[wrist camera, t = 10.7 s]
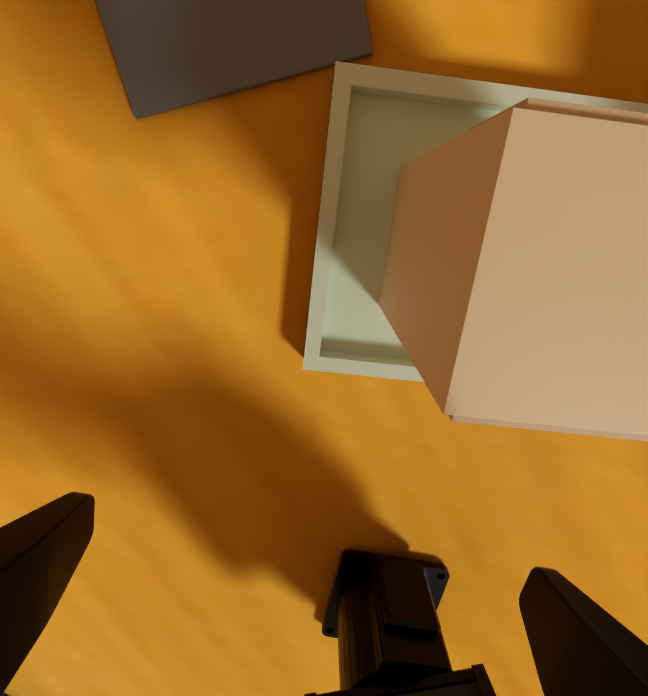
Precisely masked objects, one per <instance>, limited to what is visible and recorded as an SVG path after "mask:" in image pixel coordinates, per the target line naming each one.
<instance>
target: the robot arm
mask: <svg viewBox="0 0 648 696" xmlns="http://www.w3.org/2000/svg"><path fill="white" fill-rule="evenodd" d="M94 507H95V500H94V497H93V496H92V495H90V494H85V493H78V492H70V493H68V494H66V495H64V496H62V497H60V498H58V499H56V500H54V501H52V502H50V503H48V504H46V505H44V506H42V507H40V508H38V509H36V510H34V511H32V512H30V513H28V514H26V515H24V516H22V517H20V518H18V519H16V520H14V521H12V522H10V523H8V524H6V525H4V526H2V527H1V528H0V696H2V694H3V693H4V691H5V689H6V688H7V686H8V685H9V683H10V682H11V680H12V678H13V677H14V675H15V674H16V672H17V671H18V669H19V668H20V666H21V664H22V663H23V661H24V660H25V658H26V657H27V655H28V653H29V652H30V650H31V649H32V647H33V646H34V644H35V643H36V641H37V639H38V638H39V636H40V635H41V633H42V631H43V630H44V628H45V626H46V625H47V623H48V621H49V620H50V618H51V616H52V614H53V612H54V610H55V608H56V606H57V605H58V603H59V601H60V599H61V597H62V595H63V593H64V591H65V589H66V587H67V585H68V583H69V581H70V579H71V577H72V575H73V573H74V571H75V569H76V568H77V566H78V564H79V562H80V560H81V558H82V556H83V554H84V552H85V550H86V548H87V546H88V544H89V542H90V540H91V537H92V534H93V529H94ZM349 558H351V560H347V559H349ZM439 573H441V574H439ZM448 579H449V572H448V569H447V567H446V566H445V565H442V564H437V563H431V562H424V561H418V560H412V559H406V558H399V557H393V556H387V555H380V554H374V553H368V552H362V551H355V550H345V551H344V552H342V554H341V556H340V560H339V563H338V567H337V571H336V574H335V578H334V582H333V585H332V589H331V592H330V596H329V600H328V603H327V607H326V611H325V614H324V618H323V622H322V633H323V634H324V635H325V636H328V637H334V638H338V649H339V674H340V691H334V692H328V693H322V694H316V692H315V693H309V694H305V695H304V696H496V694H495V692H494V689H493V687H492V685H491V682H490V680H489V677H488V675H487V673H486V670H485V668H484V665H483V664H477V665H472V666H471V667H472V668H468V669H462V670H456V671H452V667H451V664H450V660H449V656H448V653H447V649H446V646H445V642H444V639H443V635H442V632H441V626H440V623H439V619H438V616H437V612H436V610H437V608H438V605H439V603H440V600H441V597H442V595H443V592H444V590H445V587H446V584H447V582H448ZM519 606H520V611H521V615H522V618H523V622H524V626H525V629H526V633H527V636H528V640H529V644H530V647H531V651H532V655H533V658H534V662H535V665H536V669H537V673H538V676H539V680H540V683H541V686H542V690H543V693H544V696H648V645H647V644H645V643H644V642H643V641H642V640H640V639H639V638H638V637H637V636H636V635H634V634H633V633H632V632H631V631H629V630H628V629H627V628H626V627H625V626H623V625H622V624H621V623H620V622H619V621H617V620H616V619H615V618H614V617H612V616H611V615H610V614H609V613H608V612H606V611H605V610H604V609H603V608H601V607H600V606H599V605H598V604H597V603H595V602H594V601H593V600H592V599H590V598H589V597H588V596H587V595H586V594H584V593H583V592H582V591H581V590H580V589H578V588H577V587H576V586H575V585H573V584H572V583H571V582H570V581H569V580H567V579H566V578H565V577H564V576H562V575H561V574H560V573H559V572H557V571H556V570H554V569H550V568H544V567H534V568H533V569H532V570H531V572H530V574H529V576H528V578H527V580H526V583H525V585H524V587H523V589H522V591H521V594H520V597H519Z"/></svg>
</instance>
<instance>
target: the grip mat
mask: <svg viewBox="0 0 648 696" xmlns="http://www.w3.org/2000/svg"><path fill="white" fill-rule="evenodd" d="M95 1H96V4H97V7H98V10H99V13H100V16H101V19H102V22H103V25H104V28H105V31H106V34H107V37H108V40H109V43H110V45H111V48H112V51H113V54H114V57H115V60H116V63H117V66H118V69H119V72H120V75H121V78H122V81H123V84H124V87H125V90H126V93H127V96H128V99H129V101H130V104H131V107H132V110H133V113H134V116H135V118H137V119H139V118H143V117H147V116H150V115H154V114H158V113H161V112H165V111H169V110H172V109H176V108H179V107H183V106H187V105H190V104H194V103H198V102H201V101H205V100H209V99H212V98H216V97H220V96H223V95H227V94H231V93H234V92H238V91H241V90H245V89H249V88H252V87H256V86H260V85H263V84H267V83H271V82H274V81H278V80H282V79H285V78H289V77H293V76H296V75H300V74H303V73H307V72H311V71H314V70H318V69H322V68H325V67H329V66H333V65H335V62H336V61H339V62H347V61H351V60H355V59H358V58H362V57H366V56H369V55H372V54H373V48H372V42H371V36H370V30H369V24H368V19H367V13H366V7H365V1H364V0H95Z"/></svg>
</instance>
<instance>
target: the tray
mask: <svg viewBox="0 0 648 696" xmlns="http://www.w3.org/2000/svg"><path fill="white" fill-rule="evenodd" d="M528 97H531V98H539V99H546V100H553V101H560V102H568V103H575V104H582V105H590V106H597V107H604V108H611V109H619V110H626V111H633V112H641V113H648V104H646V103H639V102H631V101H624V100H617V99H609V98H602V97H595V96H587V95H580V94H573V93H565V92H558V91H551V90H544V89H536V88H529V87H522V86H514V85H507V84H500V83H492V82H485V81H478V80H470V79H463V78H456V77H448V76H441V75H434V74H427V73H419V72H412V71H405V70H397V69H390V68H383V67H375V66H368V65H361V64H353V63H346V62H339V61H336V62H335V71H334V80H333V90H332V99H331V109H330V118H329V127H328V137H327V146H326V155H325V165H324V174H323V183H322V193H321V202H320V212H319V221H318V230H317V240H316V249H315V258H314V268H313V277H312V287H311V296H310V305H309V315H308V324H307V333H306V343H305V352H304V362H303V369H305V370H315V371H324V372H334V373H343V374H353V375H362V376H372V377H381V378H391V379H400V380H410V381H419V382H424V381H423V379H422V377H421V376H420V374H419V372H418V371H417V369H416V367H415V366H414V364H413V362H412V361H411V359H410V357H409V355H408V354H407V352H406V350H405V349H404V347H403V345H402V344H401V342H400V340H399V339H398V337H397V335H396V334H395V332H394V330H393V329H392V327H391V325H390V323H389V322H388V320H387V318H386V317H385V315H384V313H383V312H382V310H381V308H380V307H379V299H380V293H381V286H382V280H383V274H384V268H385V261H386V255H387V249H388V243H389V237H390V230H391V224H392V218H393V212H394V205H395V199H396V193H397V187H398V180H399V174H400V168H401V166H403V165H405V164H407V163H409V162H410V161H412V160H414V159H416V158H418V157H420V156H422V155H424V154H426V153H428V152H430V151H431V150H433V149H435V148H437V147H439V146H441V145H443V144H445V143H447V142H449V141H451V140H453V139H454V138H456V137H458V136H460V135H462V134H464V133H466V132H468V131H469V129H470V128H472V127H474V126H476V125H478V124H479V123H481V122H483V121H485V120H487V119H489V118H491V117H493V116H494V115H496V114H498V113H500V112H502V111H504V110H506V109H508V108H509V107H511V106H513V105H515V104H517V103H519V102H521V101H522V100H524V99H526V98H528Z"/></svg>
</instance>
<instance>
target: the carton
mask: <svg viewBox="0 0 648 696" xmlns="http://www.w3.org/2000/svg"><path fill="white" fill-rule="evenodd" d="M379 307H380V308H381V310H382V312H383V313H384V315H385V317H386V318H387V320H388V322H389V323H390V325H391V327H392V329H393V330H394V332H395V334H396V335H397V337H398V339H399V340H400V342H401V344H402V345H403V347H404V349H405V350H406V352H407V354H408V355H409V357H410V359H411V361H412V362H413V364H414V366H415V367H416V369H417V371H418V372H419V374H420V376H421V377H422V379H423V381H424V382H425V384H426V386H427V387H428V389H429V391H430V393H431V394H432V396H433V398H434V399H435V401H436V403H437V404H438V406H439V408H440V409H441V411H442V413H443V414H444V415H448V416H449V417H450V419H451V420H452V421H455V422H465V423H475V424H485V425H494V426H504V427H514V428H524V429H533V430H543V431H553V432H563V433H572V434H582V435H592V436H601V437H611V438H621V439H631V440H640V441H648V113H641V112H633V111H626V110H619V109H611V108H604V107H597V106H590V105H582V104H575V103H568V102H560V101H553V100H546V99H539V98H531V97H528V98H526V99H524V100H522V101H521V102H519V103H517V104H515V105H513V106H511V107H509V108H508V109H506V110H504V111H502V112H500V113H498V114H496V115H494V116H493V117H491V118H489V119H487V120H485V121H483V122H481V123H479V124H478V125H476V126H474V127H472V128H470V129H469V131H468V132H466V133H464V134H462V135H460V136H458V137H456V138H454V139H453V140H451V141H449V142H447V143H445V144H443V145H441V146H439V147H437V148H435V149H433V150H431V151H430V152H428V153H426V154H424V155H422V156H420V157H418V158H416V159H414V160H412V161H410V162H409V163H407V164H405V165H403V166H401V168H400V174H399V180H398V187H397V193H396V199H395V205H394V212H393V218H392V224H391V230H390V237H389V243H388V249H387V255H386V261H385V268H384V274H383V280H382V286H381V293H380V299H379Z"/></svg>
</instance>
